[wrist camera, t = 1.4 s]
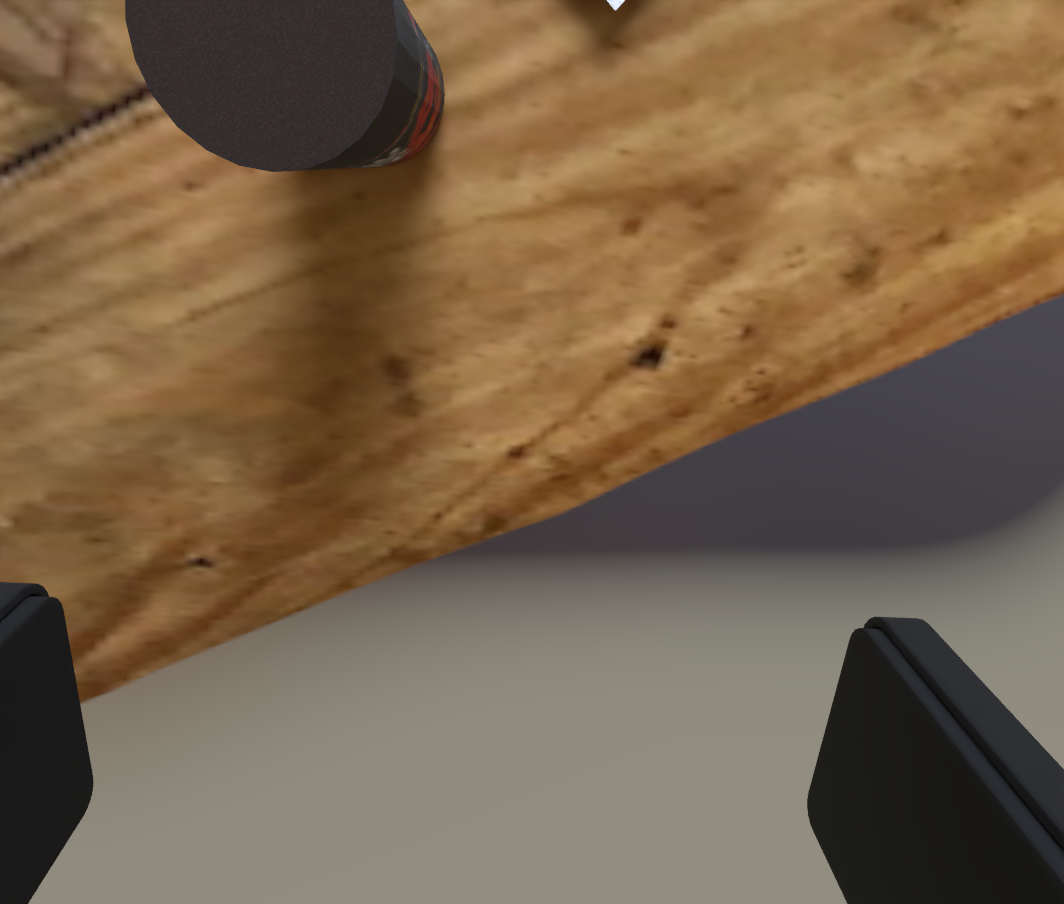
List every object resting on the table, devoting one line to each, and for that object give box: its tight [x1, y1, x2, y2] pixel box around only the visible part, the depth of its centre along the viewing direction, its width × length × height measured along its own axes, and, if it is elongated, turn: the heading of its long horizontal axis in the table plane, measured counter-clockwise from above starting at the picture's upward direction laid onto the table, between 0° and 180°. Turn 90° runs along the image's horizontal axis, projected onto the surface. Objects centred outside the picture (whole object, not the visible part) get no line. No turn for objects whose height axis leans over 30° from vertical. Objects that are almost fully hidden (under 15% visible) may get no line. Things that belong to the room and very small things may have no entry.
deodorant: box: [125, 0, 445, 172], centre depth 24 cm, size 6×6×15 cm
